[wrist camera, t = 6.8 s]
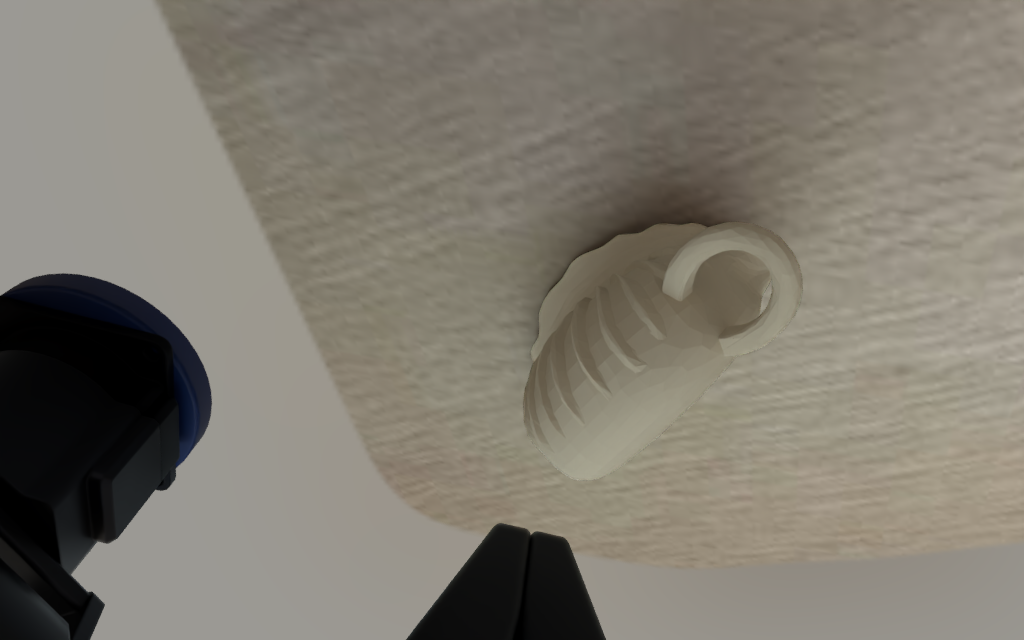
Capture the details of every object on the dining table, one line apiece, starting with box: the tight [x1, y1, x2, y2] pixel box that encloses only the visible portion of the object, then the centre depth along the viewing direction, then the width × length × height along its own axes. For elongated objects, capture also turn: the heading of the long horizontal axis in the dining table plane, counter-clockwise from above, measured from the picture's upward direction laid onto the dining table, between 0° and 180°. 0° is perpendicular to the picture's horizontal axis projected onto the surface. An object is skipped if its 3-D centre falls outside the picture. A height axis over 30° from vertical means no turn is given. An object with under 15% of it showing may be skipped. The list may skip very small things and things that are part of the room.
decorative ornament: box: [523, 222, 803, 481], centre depth 17 cm, size 4×8×5 cm, turn 142°
